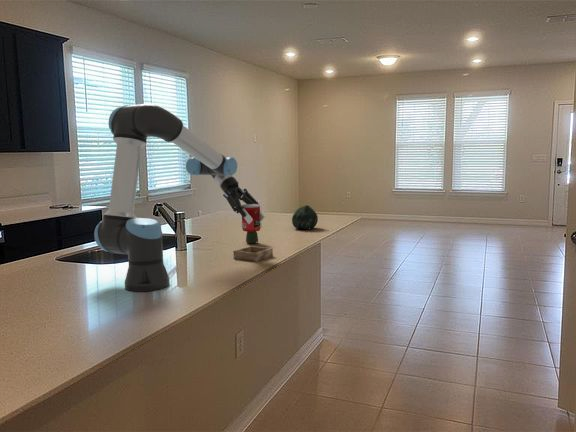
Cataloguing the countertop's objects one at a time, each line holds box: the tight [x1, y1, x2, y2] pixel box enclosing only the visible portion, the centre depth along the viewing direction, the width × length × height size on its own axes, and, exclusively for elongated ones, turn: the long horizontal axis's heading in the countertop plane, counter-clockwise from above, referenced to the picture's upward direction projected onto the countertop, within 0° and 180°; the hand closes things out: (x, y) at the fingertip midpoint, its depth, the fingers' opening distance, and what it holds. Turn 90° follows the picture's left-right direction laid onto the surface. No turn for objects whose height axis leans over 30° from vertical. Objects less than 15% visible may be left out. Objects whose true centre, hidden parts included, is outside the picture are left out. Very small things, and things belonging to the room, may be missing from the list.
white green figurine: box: [240, 221, 263, 244], centre depth 249 cm, size 11×7×13 cm, turn 73°
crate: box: [232, 245, 274, 263], centre depth 216 cm, size 12×12×4 cm
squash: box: [291, 204, 319, 230], centre depth 291 cm, size 14×15×15 cm
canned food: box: [241, 203, 261, 233], centre depth 214 cm, size 8×8×11 cm
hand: (256, 220), depth 212 cm, fingers closed on canned food, 8 cm apart
